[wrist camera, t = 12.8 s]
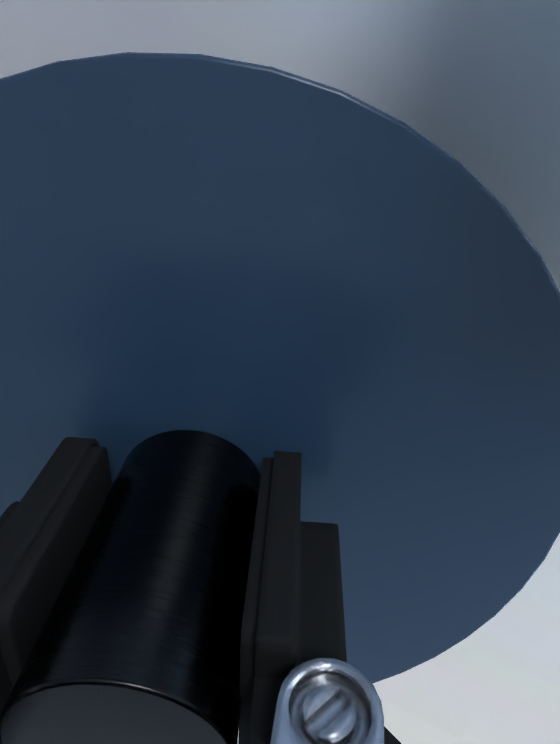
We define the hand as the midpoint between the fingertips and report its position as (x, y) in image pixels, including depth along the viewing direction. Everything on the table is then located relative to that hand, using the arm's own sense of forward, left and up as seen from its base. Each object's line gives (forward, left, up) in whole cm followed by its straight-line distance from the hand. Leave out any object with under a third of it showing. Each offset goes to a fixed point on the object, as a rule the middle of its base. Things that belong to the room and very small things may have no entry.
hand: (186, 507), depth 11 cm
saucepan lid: (0, 0, -1) cm, 1 cm away
